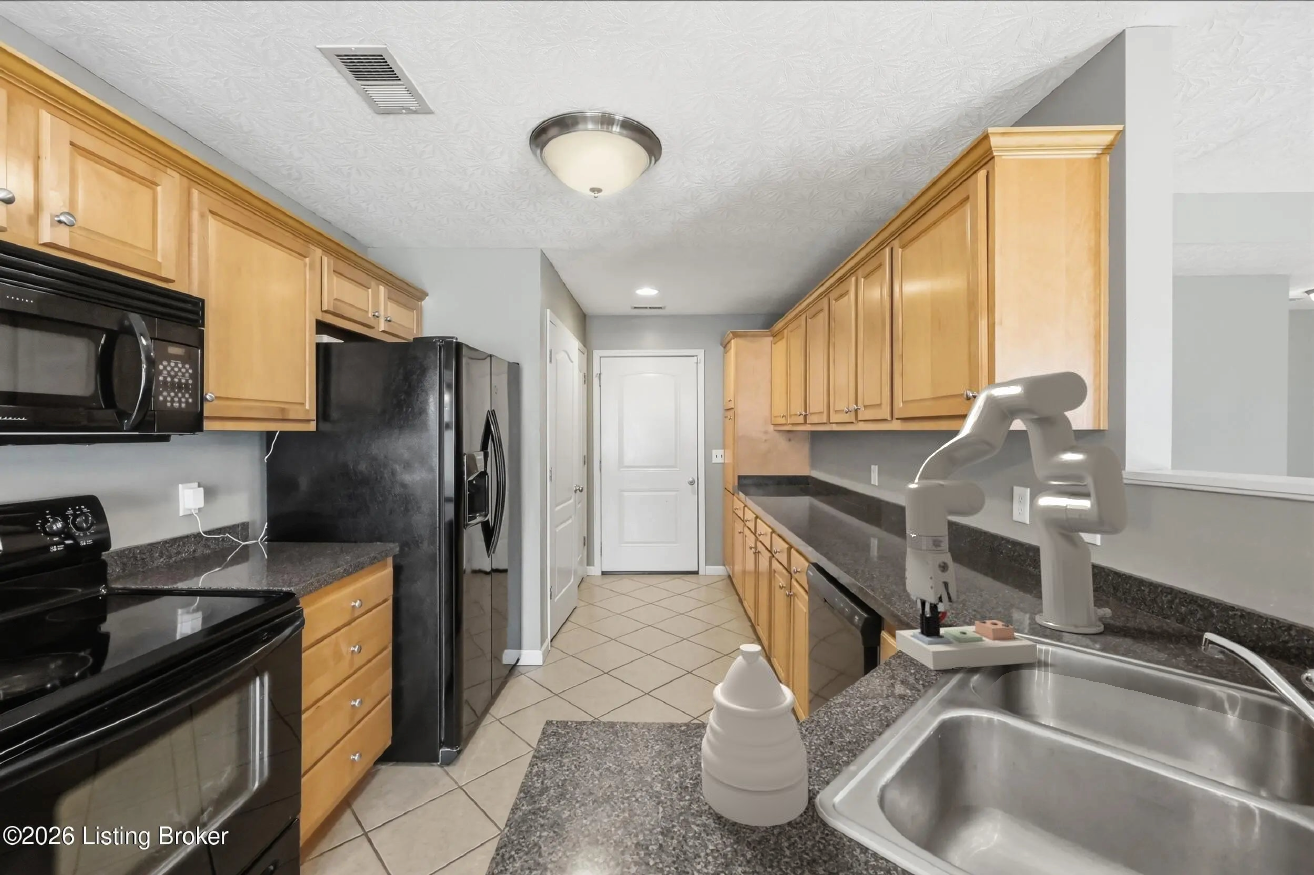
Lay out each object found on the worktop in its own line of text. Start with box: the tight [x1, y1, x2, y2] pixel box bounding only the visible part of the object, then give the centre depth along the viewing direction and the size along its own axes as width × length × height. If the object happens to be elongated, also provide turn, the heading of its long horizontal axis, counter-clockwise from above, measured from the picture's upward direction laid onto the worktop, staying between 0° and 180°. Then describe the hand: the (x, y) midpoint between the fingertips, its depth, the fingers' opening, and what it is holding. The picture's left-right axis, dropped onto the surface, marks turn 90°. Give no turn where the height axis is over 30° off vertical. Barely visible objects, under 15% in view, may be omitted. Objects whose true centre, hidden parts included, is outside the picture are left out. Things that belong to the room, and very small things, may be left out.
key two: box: [913, 632, 950, 645], centre depth 106 cm, size 5×5×3 cm
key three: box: [974, 619, 1015, 641], centre depth 108 cm, size 5×5×3 cm
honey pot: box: [700, 643, 809, 827], centre depth 65 cm, size 13×13×18 cm
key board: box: [895, 625, 1038, 671], centre depth 107 cm, size 22×12×4 cm, turn 97°
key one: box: [944, 629, 983, 643], centre depth 107 cm, size 5×5×3 cm
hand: (930, 634), depth 106 cm, fingers closed
